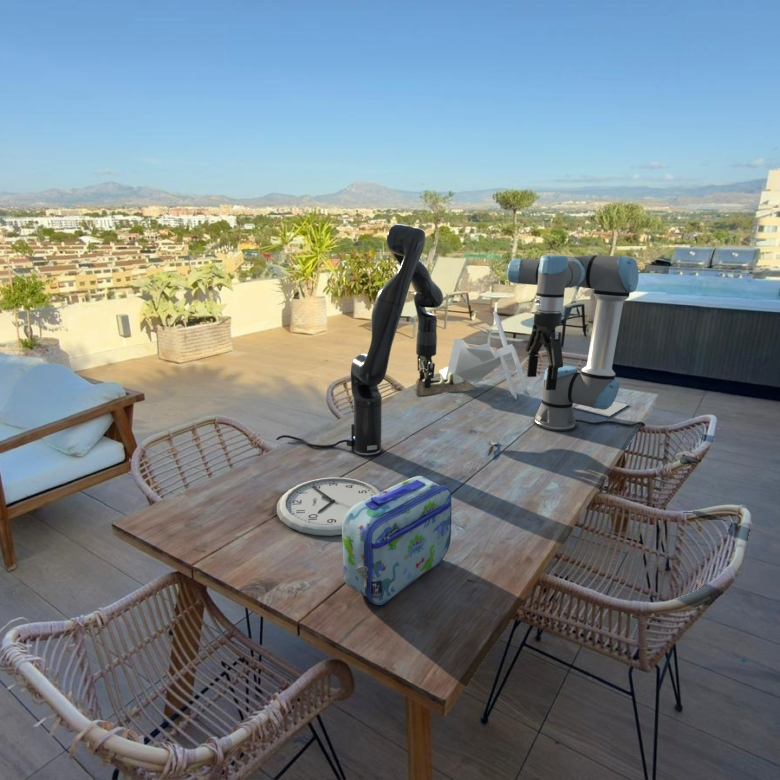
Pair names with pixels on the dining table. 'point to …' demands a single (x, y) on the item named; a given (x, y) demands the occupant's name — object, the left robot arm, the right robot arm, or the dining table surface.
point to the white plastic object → (484, 361)
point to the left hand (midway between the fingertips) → (424, 385)
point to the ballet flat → (443, 386)
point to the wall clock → (322, 504)
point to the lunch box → (395, 537)
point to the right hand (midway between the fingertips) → (540, 382)
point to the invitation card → (607, 412)
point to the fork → (493, 444)
